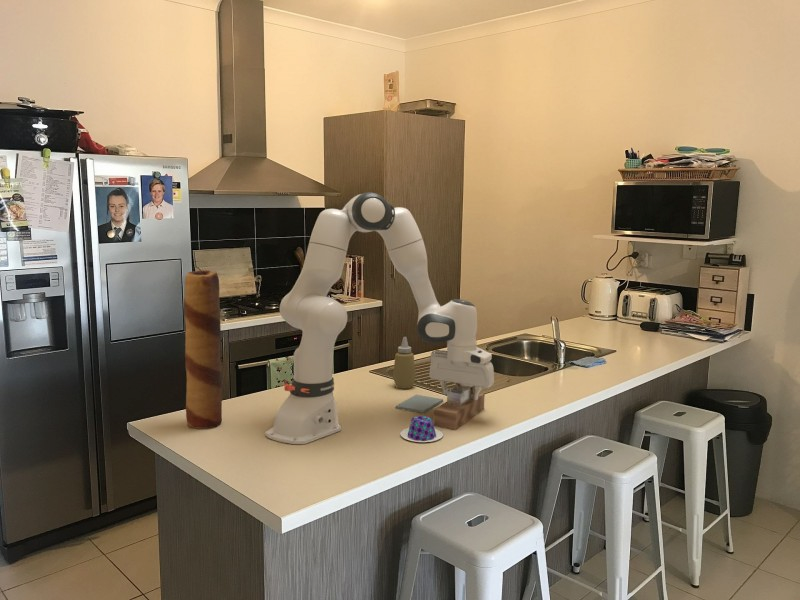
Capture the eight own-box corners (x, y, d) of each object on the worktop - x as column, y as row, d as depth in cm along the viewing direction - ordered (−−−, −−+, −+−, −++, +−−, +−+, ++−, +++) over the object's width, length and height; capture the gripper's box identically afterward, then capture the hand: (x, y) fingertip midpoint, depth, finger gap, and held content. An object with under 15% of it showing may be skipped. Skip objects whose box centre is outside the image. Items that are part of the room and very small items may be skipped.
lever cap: (460, 406, 195) (460, 391, 194) (446, 404, 197) (447, 389, 196) (473, 398, 203) (473, 383, 202) (460, 395, 205) (460, 381, 204)
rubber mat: (423, 413, 203) (423, 411, 203) (395, 408, 208) (395, 405, 208) (443, 401, 215) (443, 399, 215) (416, 396, 220) (416, 394, 220)
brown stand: (455, 429, 190) (456, 394, 188) (433, 425, 193) (434, 390, 191) (484, 408, 209) (485, 376, 207) (463, 405, 212) (464, 373, 210)
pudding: (451, 437, 184) (452, 420, 183) (419, 448, 177) (420, 429, 176) (423, 426, 193) (423, 409, 192) (391, 435, 186) (391, 417, 185)
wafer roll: (231, 419, 196) (226, 270, 189) (211, 431, 186) (205, 274, 179) (200, 416, 199) (195, 269, 192) (179, 427, 189) (173, 272, 182)
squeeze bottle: (400, 382, 237) (400, 333, 234) (419, 385, 233) (420, 336, 230) (388, 387, 230) (388, 337, 227) (408, 391, 226) (409, 340, 223)
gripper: (426, 350, 200) (425, 394, 202) (489, 359, 190) (487, 405, 192) (435, 346, 205) (434, 389, 207) (496, 355, 195) (495, 399, 198)
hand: (460, 397), depth 200 cm, fingers open, 8 cm apart
